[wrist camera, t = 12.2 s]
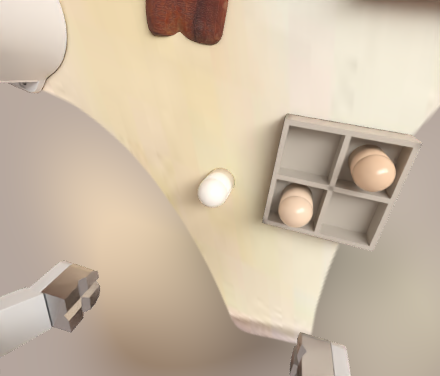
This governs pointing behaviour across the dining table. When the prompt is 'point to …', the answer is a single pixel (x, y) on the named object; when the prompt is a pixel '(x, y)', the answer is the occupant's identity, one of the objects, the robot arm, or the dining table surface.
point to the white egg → (216, 187)
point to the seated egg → (296, 205)
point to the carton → (337, 178)
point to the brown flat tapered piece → (187, 18)
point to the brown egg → (371, 168)
